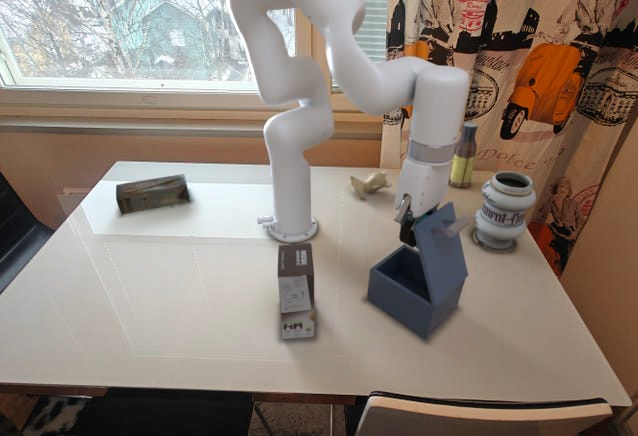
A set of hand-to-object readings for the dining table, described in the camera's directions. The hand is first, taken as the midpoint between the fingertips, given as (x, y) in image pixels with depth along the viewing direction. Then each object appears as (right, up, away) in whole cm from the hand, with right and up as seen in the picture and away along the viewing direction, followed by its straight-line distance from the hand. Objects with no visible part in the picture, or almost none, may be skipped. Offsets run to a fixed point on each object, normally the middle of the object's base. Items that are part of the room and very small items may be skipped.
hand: (415, 236), depth 73 cm
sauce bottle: (+26, +14, +51) cm, 59 cm away
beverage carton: (-66, +8, +41) cm, 78 cm away
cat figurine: (-3, +11, +45) cm, 47 cm away
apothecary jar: (+27, -2, +27) cm, 38 cm away
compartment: (+1, -15, +8) cm, 17 cm away
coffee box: (-23, -17, +5) cm, 29 cm away
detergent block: (0, 0, 0) cm, 0 cm away
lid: (+4, -3, -3) cm, 6 cm away
